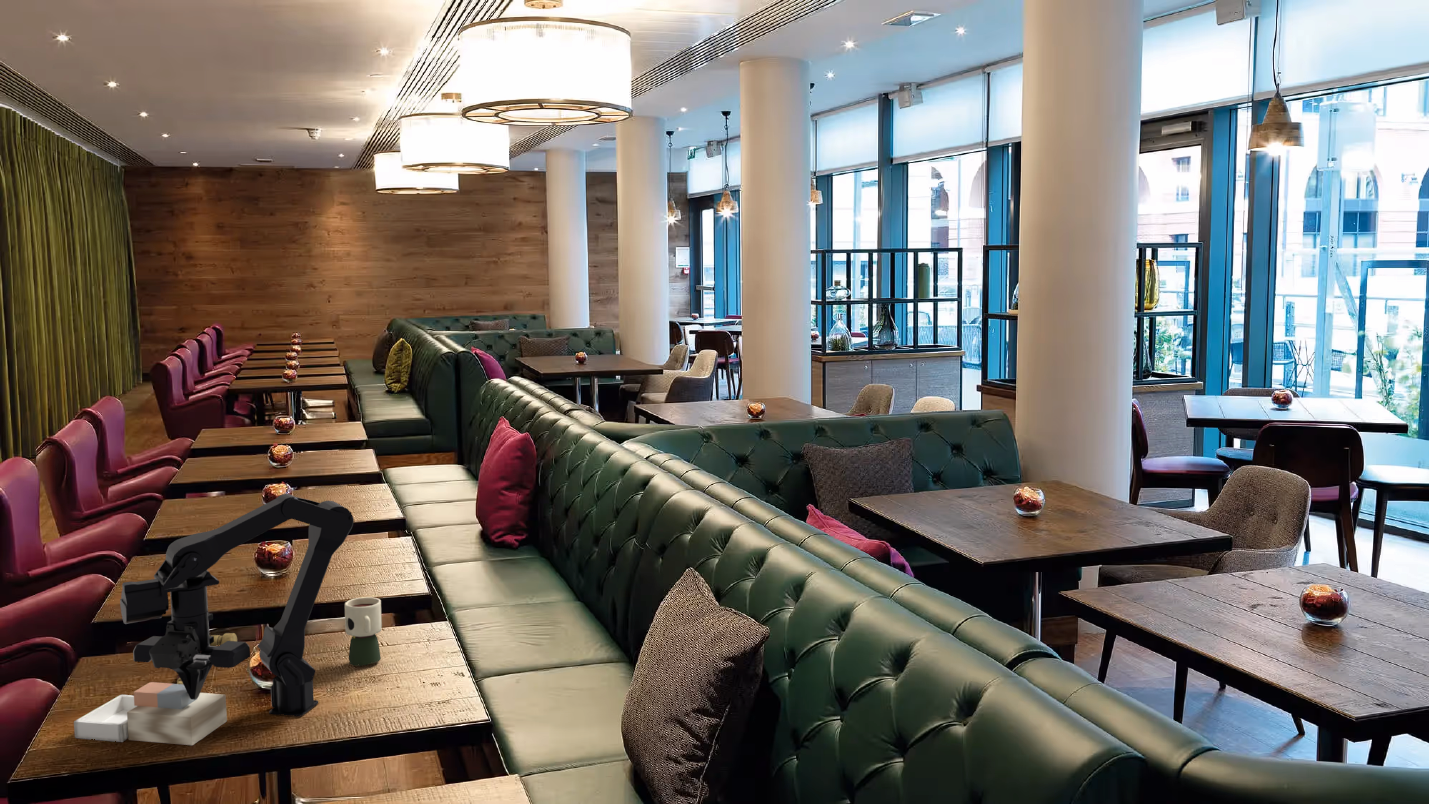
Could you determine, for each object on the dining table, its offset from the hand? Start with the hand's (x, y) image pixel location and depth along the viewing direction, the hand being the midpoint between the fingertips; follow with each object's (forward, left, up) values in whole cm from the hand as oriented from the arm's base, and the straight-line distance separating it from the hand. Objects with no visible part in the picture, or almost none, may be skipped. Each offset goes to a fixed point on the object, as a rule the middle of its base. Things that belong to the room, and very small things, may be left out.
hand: (194, 698), depth 193 cm
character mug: (-14, -36, -6) cm, 39 cm away
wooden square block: (+3, 0, -6) cm, 7 cm away
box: (+14, 0, -6) cm, 16 cm away
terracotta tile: (+8, 0, -1) cm, 8 cm away
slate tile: (+3, 0, -1) cm, 3 cm away
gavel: (+18, -27, -7) cm, 34 cm away
